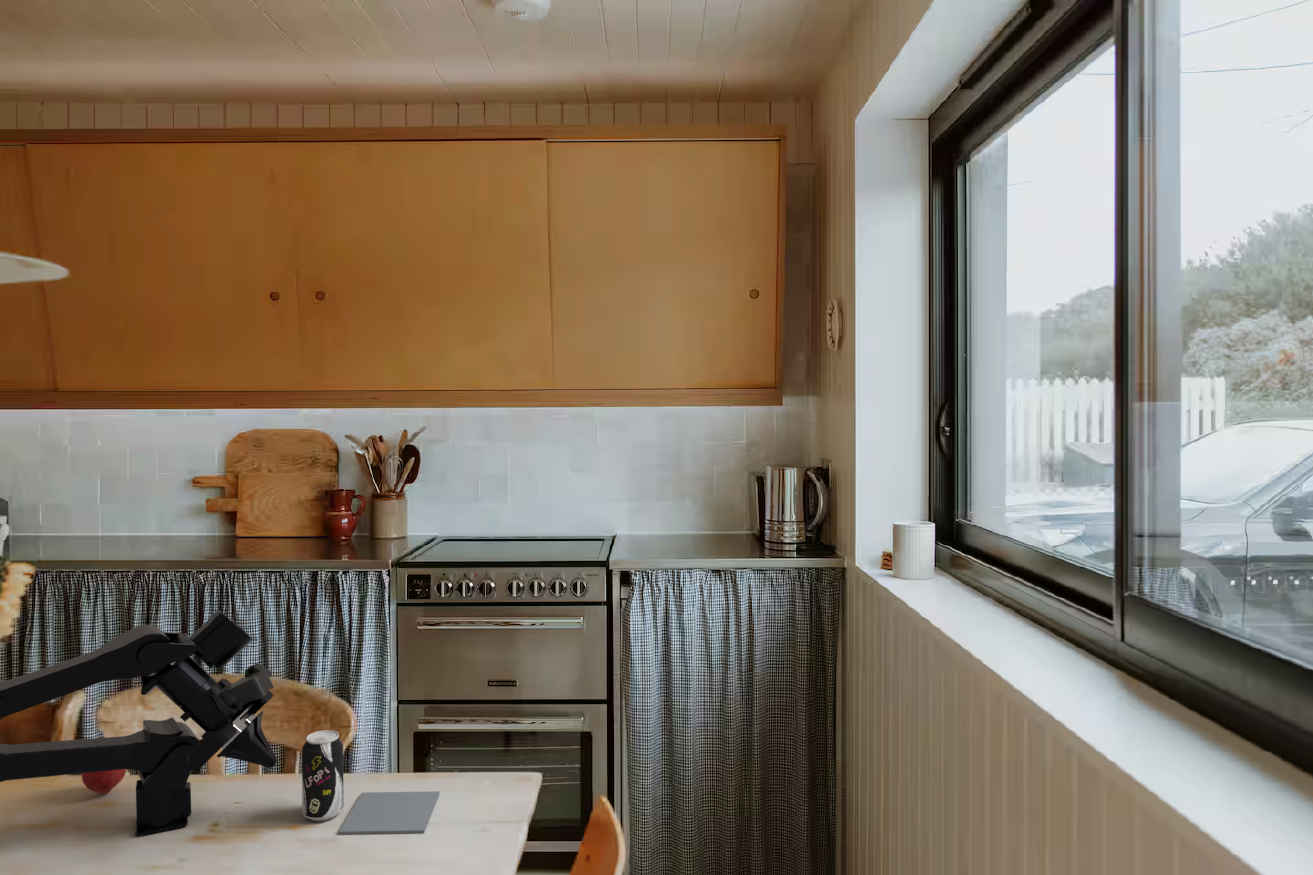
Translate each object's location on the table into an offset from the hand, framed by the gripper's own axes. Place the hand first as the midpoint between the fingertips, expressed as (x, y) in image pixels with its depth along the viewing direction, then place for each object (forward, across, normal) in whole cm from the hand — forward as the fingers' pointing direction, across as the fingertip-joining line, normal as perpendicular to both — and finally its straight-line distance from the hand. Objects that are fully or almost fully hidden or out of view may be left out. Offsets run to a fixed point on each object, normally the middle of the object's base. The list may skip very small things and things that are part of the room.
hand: (274, 764), depth 129 cm
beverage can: (+10, 0, 0) cm, 11 cm away
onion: (-14, +8, +26) cm, 30 cm away
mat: (+17, -1, -7) cm, 19 cm away
